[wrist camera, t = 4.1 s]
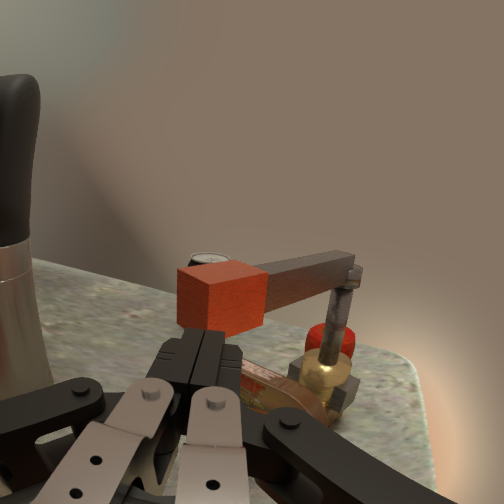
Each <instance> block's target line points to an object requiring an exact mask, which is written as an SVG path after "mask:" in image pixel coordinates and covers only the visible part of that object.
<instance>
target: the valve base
mask: <svg viewBox="0 0 504 504" xmlns="http://www.w3.org/2000/svg"><path fill="white" fill-rule="evenodd" d="M353 290H354V289H343V288H338V287H336V288H333V289H331V295H330V301H329V306H328V311H327V316H326V322H325V327H324V332H323V337H322V342H321V346H320V348H316V349H311V350H309V351H307V352H306V353H305V354H304V355H303V356H301V357H300V358H298V359H296V360H294V361H293V362H291V363H290V364H289V370H288V375H287V378H289V379H292V380H294V381H297V382H299V383H301V384H302V385H304V386H306V387H307V388H308V389H310V390H311V391H312V392H313V393H314V394H315V395H316V396H317V397H318V399H319V400H320V401H321V403H322V405H323V406H324V408H325V411H326V413H327V417H328V427H329V426H330V425H331V424H332V423H333V422H334V421H336V420H337V419H338V418H339V417H340V416H341V415H342V413H343V411H344V410H345V409H346V408H347V407H348V406H349V405H350V404H351V403H352V402H353V401H354V399H355V396H356V393H357V390H358V386H359V383H360V379H357V378H355V377H353V376H351V375H349V374H350V371H351V367H352V362H351V360H350V358H349V357H348V356H346V355H345V354H343V353H341V352H340V350H341V346H342V342H343V337H344V333H345V328H346V324H347V319H348V315H349V309H350V305H351V300H352V295H353Z"/></svg>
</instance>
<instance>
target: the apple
mask: <svg viewBox="0 0 504 504" xmlns="http://www.w3.org/2000/svg"><path fill="white" fill-rule="evenodd" d="M324 327H325V323H322V324H318V325H316V326H314V327H312V328H311V329H310V330H309V332H308V334H307V338H306V342H305V353H306V352H307V351H309V350H311V349H316V348H320V346H321V342H322V337H323V332H324ZM354 348H355V334H354V332H353V331H352V330H351V329H349V328H348V327H346V328H345V333H344V337H343V342H342V346H341V350H340V352H341V353H343V354H345V355H346V356H348V357H349V358H350V360H351V358H352V355H353V352H354Z"/></svg>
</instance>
